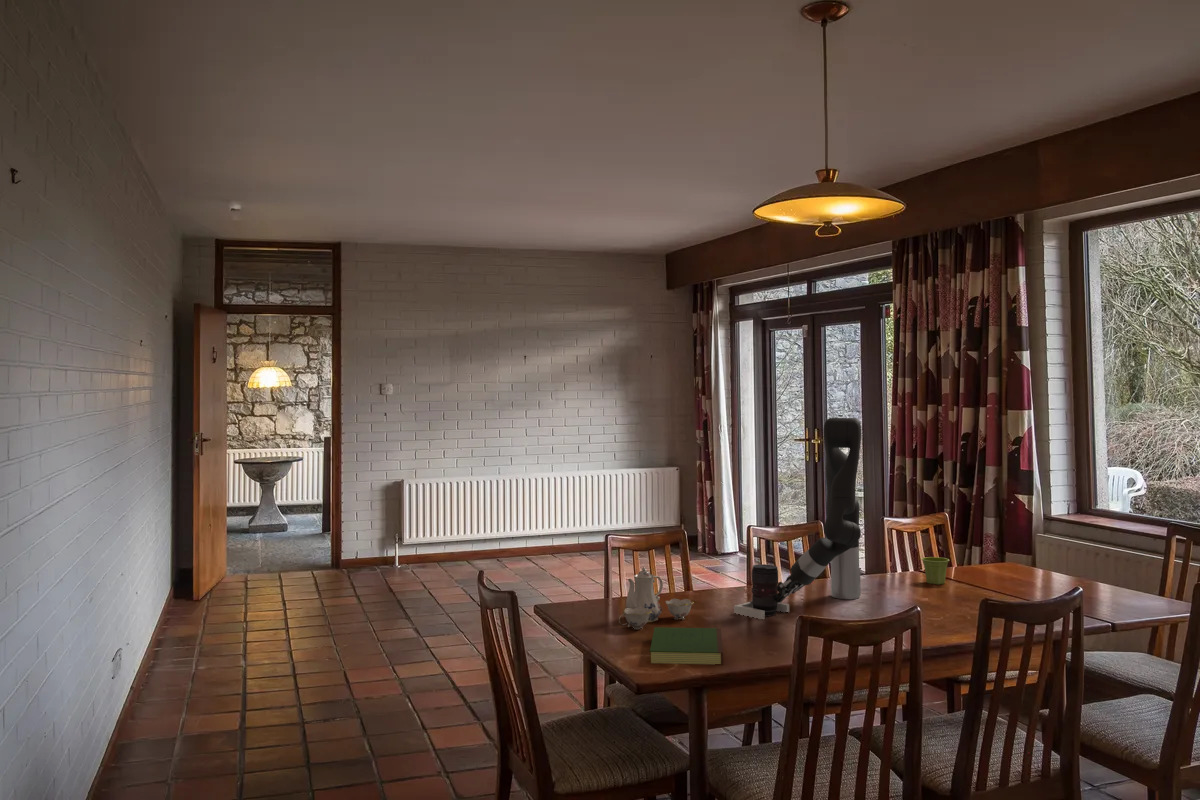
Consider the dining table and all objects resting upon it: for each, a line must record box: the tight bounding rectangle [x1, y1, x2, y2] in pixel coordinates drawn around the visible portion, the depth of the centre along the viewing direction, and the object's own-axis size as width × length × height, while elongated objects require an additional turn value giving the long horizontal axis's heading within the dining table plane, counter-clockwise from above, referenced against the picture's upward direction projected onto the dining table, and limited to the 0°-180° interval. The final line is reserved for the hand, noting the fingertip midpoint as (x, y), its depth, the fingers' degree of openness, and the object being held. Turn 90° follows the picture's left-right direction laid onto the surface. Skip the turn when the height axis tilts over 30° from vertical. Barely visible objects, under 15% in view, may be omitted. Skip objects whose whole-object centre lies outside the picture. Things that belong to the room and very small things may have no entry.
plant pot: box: [921, 556, 950, 585], centre depth 335 cm, size 9×9×9 cm
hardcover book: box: [649, 626, 724, 666], centre depth 252 cm, size 25×19×4 cm
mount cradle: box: [733, 600, 790, 620], centre depth 293 cm, size 14×11×3 cm
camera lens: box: [751, 563, 779, 617], centre depth 292 cm, size 8×8×15 cm
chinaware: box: [618, 566, 695, 630], centre depth 284 cm, size 28×17×17 cm, turn 135°
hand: (776, 600), depth 289 cm, fingers closed
